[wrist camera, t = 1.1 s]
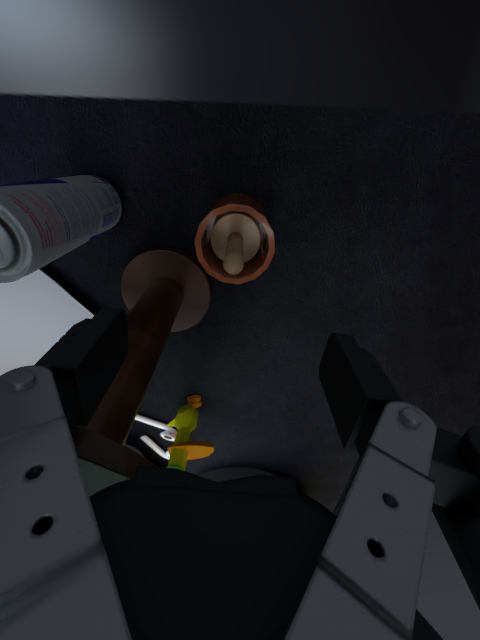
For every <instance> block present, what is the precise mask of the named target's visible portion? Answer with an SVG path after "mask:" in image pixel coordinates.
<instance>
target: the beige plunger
mask: <svg viewBox="0 0 480 640" xmlns="http://www.w3.org/2000/svg"><path fill="white" fill-rule="evenodd" d="M210 241H211V246H212V249H213V251H214V253H215V254H216V255H217V256H218V257H219V258H220V259H221V260H223V266H224V269H225V271H226V272H227V273H229V274H232V275H235V274H238V273H240V272H241V271H242V269H243V267H244V263H245V262H247V261H249V260H250V259H252V258H253V257H254V256H255V255H256V253H257V251H258V250H259V247H260V243H261V236H260V226H259V222H258V220H257V219H256V218H254V217H253V216H251V215H250V214H248V213H246V212H238V211H228V212H226V213H223V214H220V215H217V216H216V218H215V221H214V223H213V227H212V231H211V236H210Z"/></svg>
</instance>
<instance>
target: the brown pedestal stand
mask: <svg viewBox="0 0 480 640" xmlns="http://www.w3.org/2000/svg"><path fill="white" fill-rule="evenodd" d="M211 292H212V290H211V283H210V280H209V277H208V275H207V273H206V271H205V270H204V268H203V267H202V266H201V264H200V263H199V262H198V261H197V260H196V259H194V258H193V257H192V256H190V255H189V254H187V253H185V252H183V251H181V250H178V249H175V248H169V247H155V248H150V249H148V250H145V251H143V252H141V253H139V254H138V255H137V256H135V257H134V258H133V259H132V260H131V261H130V262H129V263H128V265H127V266H126V268H125V270H124V272H123V275H122V278H121V293H122V297H123V300H124V302H125V304H126V306H127V308H128V309H129V311H130V313H129V314H128V315H127V317H126V320H127V332H128V353H127V356H126V359H125V361H124V362H123V364H122V366H121V368H120V369H119V371H118V373H117V375H116V376H115V378H114V380H113V382H112V383H111V385H110V387H109V389H108V390H107V392H106V394H105V396H104V397H103V399H102V401H101V403H100V404H99V406H98V408H97V410H96V411H95V413H94V415H93V417H92V418H91V420H90V422H89V424H88V425H87V426H78V425H73V426H72V428H71V430H70V433H71V436H72V440H73V443H74V447H75V450H76V453H77V457H78V458H81V459H83V460H86V461H88V462H91V463H94V464H96V465H98V466H101V467H103V468H106V469H108V470H111V471H113V472H115V473H118V474H120V475H123V476H125V477H128V478H130V479H133V478H134V475H135V472H136V469H137V466H138V465H140V466H152V467H156V466H155V465H154V464H152V463H151V462H150V461H148V460H147V459H146V458H144V457H143V456H141V455H139V454H138V453H136V452H134V451H133V450H131V449H129V448H128V447H126V446H124V443H125V441H126V438H127V436H128V434H129V431H130V429H131V426H132V424H133V421H134V419H135V417H136V414H137V412H138V409H139V407H140V404H141V402H142V399H143V397H144V395H145V392H146V390H147V387H148V385H149V382H150V380H151V377H152V375H153V373H154V370H155V368H156V365H157V363H158V360H159V358H160V355H161V353H162V351H163V348H164V346H165V343H166V341H167V338H168V336H169V333H170V332H175V331H182V330H185V329H188V328H190V327H192V326H194V325H196V324H197V323H198V322H199V321H200V320H201V319H202V318H203V317H204V316H205V314H206V313H207V310H208V308H209V305H210V301H211Z"/></svg>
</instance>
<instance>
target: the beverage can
mask: <svg viewBox="0 0 480 640" xmlns="http://www.w3.org/2000/svg"><path fill="white" fill-rule="evenodd" d="M121 212H122V206H121V201H120V198H119V196H118V194H117V192H116V190H115V189H114V188H113V187H112V185H111V184H109V183H108V182H107V181H106V180H104V179H102V178H100V177H98V176H94V175H79V176H70V177H62V178H54V179H46V180H38V181H30V182H22V183H14V184H6V185H0V283H6V282H13V281H16V280H18V279H20V278H22V277H24V276H26V275H29V274H30V273H32V272H34V271H36V270H38V269H39V268H41V267H43V266H45V265H47V264H48V263H50V262H52V261H54V260H56V259H57V258H59V257H61V256H63V255H64V254H66V253H68V252H70V251H72V250H73V249H75V248H77V247H79V246H81V245H82V244H84V243H86V242H88V241H90V240H91V239H93V238H95V237H97V236H98V235H100V234H102V233H104V232H106V231H107V230H109V229H111V228H112V227H114V226H115V225H116V224H117V223H118V221H119V219H120V217H121Z"/></svg>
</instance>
